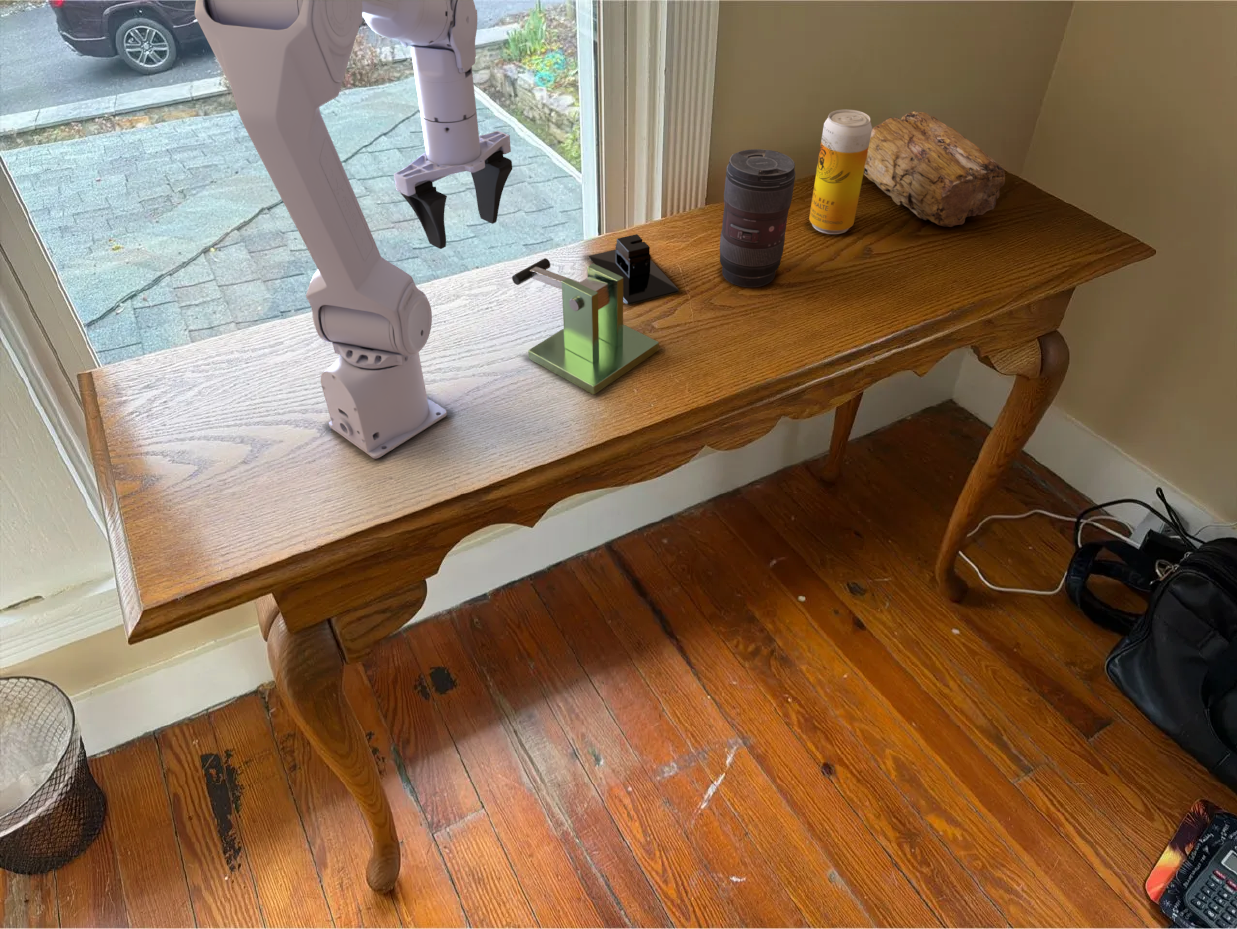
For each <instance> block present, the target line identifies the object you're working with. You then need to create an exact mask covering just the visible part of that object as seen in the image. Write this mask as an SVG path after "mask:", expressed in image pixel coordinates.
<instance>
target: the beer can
mask: <svg viewBox="0 0 1237 929" xmlns="http://www.w3.org/2000/svg"><path fill="white" fill-rule="evenodd" d="M872 129H873V126H872V122H871V116H870V115H868V114H867V113H865V112H863V111H861V110H856V109H846V108H845V109H836V110H833V111H831V112H830V113H829V114H828V116H827V118H826V119H825V121H824V122H823V126H822V134H821V140H820V146H819V147H820V148H819V153H818V158H817V166H816V172H815V179H814V185H813V189H812V190H813V191H812V197H811V204H810V211H809V217H808V220H809V222H810V223H811V225H812V227H813V229H814V230H816V231H818V232H820V233H822V234H826V235H840V234H844V233H846V232H848V231H849V229H850V228H852V227H853V226H854V223H855V220H856V214H857V209H858V204H859V199H860V194H861V188H862V184H863V177H864V168H865V163H866V158H867V153H868V148H869V143H870V137H871V132H872Z"/></svg>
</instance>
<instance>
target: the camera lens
mask: <svg viewBox="0 0 1237 929" xmlns="http://www.w3.org/2000/svg"><path fill="white" fill-rule="evenodd" d="M795 168H796V163H795V161H794V160H793V158H791V157H790V156H789V155H787V154H785V153H782V152H780V151H776V150H772V149H764V148H762V149H761V148H754V149H744V150H740V151H738V152H735V153H733V154H732V155H731V156H730V157H729V162H728V164H727V166H726V168H725V169H726V170H725V180H724V181H725V182H724V191H723V206H724V207H723V214H722V215H723V216H722V226H721V231H720V240H719V262H720V266H721V267H722V270H721V273H722V276H723V278H724V279H725V280H726V281H728V283H730V284H732V285H735V286H737V287H741V288H742V287H743V288H759V287H763V286H767V285H768V284H770V283H771V282H772V281H773V280H774V279H775V276H776V271H778V269H779V268H780V266H781V262H782V258H783V257H782V256H783V254H784V250H785V249H784V248H785V240H786V231H787V224H788V217H789V209H790V208H791V204H792V200H793V193H794V188H795V179H796V170H795Z"/></svg>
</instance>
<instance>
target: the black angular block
mask: <svg viewBox="0 0 1237 929" xmlns="http://www.w3.org/2000/svg"><path fill="white" fill-rule="evenodd" d="M650 248H651V247H650V245H648V244H647V242H645V241H643V238H642V237H641V236H640V235H639V234H637V233H636V234H632V235H627V236H621V237H619V238H616V244H615V249H612V250H609V251H604V252H600V253H595V254H591V255H589V256H588V260H589V261H590V263H592V264H595V265H598V266H600V267H602V268H604V269H606V270H608V271H611V272H613V273H615V274H617V275H619V276H621V277H623V304H625V305H628V306H633V305H635V304H640V303H644V302H647V301H648V302H649V301H650V300H652V301H653V300H656V299H658V298H659V299H660V298H663V297H667V296H671V295H675V294H679V293H680V290H679V288H678V287H677V286H676V285H675V284H674V282H673V281H672V280H671V279H670V278H669V277H668V276H667V275H666V274H665V273H664V272H663V271H662V270H661V269H660V268H659V266H658V265H656V263H654V262H653V261H652V260H651V253H650V251H651V250H650Z"/></svg>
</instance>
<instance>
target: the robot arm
mask: <svg viewBox="0 0 1237 929" xmlns="http://www.w3.org/2000/svg"><path fill="white" fill-rule="evenodd" d="M194 17H195V19H196V21H197V23H198V25H199V27H200V29H201V30H202V33H203V35H204V36H205V39H206V40H207V43H208V44H209V46H210V48H211V51H212V53H213V54H214V57H215V58H216V61H217V63H218V64H219V66H220V68H221V70H222V72H223V74H224V76H225V78H226V80H227V82H228V84H230V88H231V92H232V95H233V96H232V97H233V100H234V102H235V106H236V109H237V112H238V116H239V118H240V120H241V122H242V125H243V127H244V129H245V131H246V133H247V134H248V136H249V139H250V141H251V142H252V145H253V146H254V149H255V150H256V152H257V154H258V156H259V158H260V160H261V162H262V164H263V166H264V168H265V169H266V171H267V174H268V175H269V177H270V179H271V182H272V183H273V185H274V187H275V189H276V190H277V193H278V195H279V196H280V199H281V200H282V202H283V204H284V207H285V209H286V210H287V212H288V214H289V216H290V218H291V220H292V222H293V223H294V226H295V228H296V229H297V232H298V233H299V235H300V237H301V239H302V241H303V243H304V245H305V247H306V249H307V251H308V253H309V254H310V256H311V259H312V260H313V262H314V265H315V266H316V271H315V273H314V274H313V275H312V278H311V280H310V282H309V283H308V284H309V285H308V288H307V290H306V294H305V297H306V300H307V302H308V303H309V305H310V309H311V313H312V314H311V316H312V322H313V325H314V328H315V331H316V334H317V335H318V336H319V338H320V339H321V340H322V341H324V342H327V343H332V348H333V351H334V352H333V353H334V354H335V355H339V356H338V357H337V358H336V360H335V361H334V362H333V363H332V364H331V365H330V366H329V367H328V368H326V369H325V370H324V371H323V372H322V373H321V375H320V385H321V389H322V392H323V396H324V400H325V403H326V407H327V410H328V414H329V417H330V420H329V421H328V427H329V428H330V429H332V430H333V431H335V432H336V433H337V434H339V435H340V436H341V437H343V438H345V439H346V440H347V441H349V443H351V444H353V445H354V446H355V447H357V448H358V449H359V450H361V451H362V452H364V453H365V454H367V455H368V456H370V457H371V458H372V459H380V458H381V457H382V456H384V455H386V454H388V453H389V452H390V451H392V450H394V449H396V448H397V447H399V446H400V445H402V444H404V443H406V442H407V441H408V440H410V439H411V438H413V437H415V436H416V435H418V434H420V433H421V432H423V431H424V430H426V429H427V428H429V427H431V426H432V425H434V424H435V423H437V422H439V421H440V420H442V419H444V418H445V417H447V416H448V411H447V409H446V408H444V407H442V405H439V404H438V403H436V402H435V401H433V400H431V399H430V398H429V397H428V395H427V389H426V384H425V379H424V373H423V368H422V362H421V357H420V352H421V351H422V349H423V348H424V347H425V345H426V344H427V342H428V340H429V338H430V334H431V330H432V323H433V313H432V311H433V310H432V307H431V306H432V305H431V303H430V302H429V299H428V297H427V295H426V294H425V293H424V292H423V291H422V290H420V289H419V288H418V287H417V284H416V283H415V281H414V278H413V276H412V275H410V274H409V273H408V272H406V271H404V270H403V269H401V268H400V267H399V266H397V265H395V264H393V263H392V262H390V261H388V260H387V259H385V258H384V257H383V256H382V255H381V253H380V251H379V248H378V246H377V244H376V241H375V239H374V236H373V234H372V231H371V229H370V226H369V224H368V222H367V220H366V218H365V215H364V212H363V210H362V207H361V205H360V203H359V200H358V199H357V196H356V193H355V191H354V189H353V187H352V183H350V179H349V178H348V177H349V176H348V174H347V172H346V170H345V168H344V166H343V163H342V160H341V158H340V156H339V154H338V150H337V149H336V146H335V144H334V141H333V139H332V137H331V135H330V132H329V130H328V127H327V125H326V123H325V121H324V118H323V116H322V114H321V109H320V107H322V106H324V105H326V104H327V103H329V102H331V101H333V100H334V99H336V98H337V97H339V95H340V92H341V88H342V84H343V82H344V78H345V75H346V72H347V68H348V65H349V62H350V58H351V55H352V51H353V48H354V45H355V43H356V42H355V41H356V40H357V37H358V33H359V29H360V26H361V25H362V24H363V19H364V21H365V23H366V25H367V26H368V27H369V28H370V29H371V31H373V32H374V33H375V34H376V35H378V36H381V37H382V38H385V39H386V38H387V39H390V40H394V41H399V43H400V44H401V45H402V46H403V47H404V48H408V47H411V48H410V54H411V60H412V66H413V73H414V80H415V88H416V93H417V100H418V101H417V102H418V108H419V113H420V114H419V115H420V122H421V128H422V134H423V143H424V149H425V152H423V153H422V154H420V155H419V156H418V157H416V158H415V159H414V160H413V161H412V162H410V163H409V164H408V165H406V166H405V167H403V168H402V169H400V170H398V171H396V172H394V173H393V178H394V184H395V189H396V192H398V193H400V195H401V196H402V197H403V199H405V201H406V202H407V203H408V204H409V206H410V208H411V209H412V211H413V212H414V214H415V216H416V217H417V218H418V221H419V223H420V225H421V226H422V228H423V231H424V234H425V236H426V238H427V240H428V243H429V244H430V245H432V246H433V247H435V248H438V249H439V250H442V249H444V248H446V247H447V235H446V226H445V208H446V202H447V198H448V196H447V195H446V194H444V193H442V192H440V191H438V190H437V187H436V186H434V184H433V183H435V182H437V181H439V180H441V179H443V178H446V177H448V176H450V175H454V174H459V173H464V172H469V173H470V174H471V175H470V176H471V178H472V182H473V185H474V189H475V196H476V204H477V211H478V214H479V217H480V219H481V220H483V221H485V222H487V223H490V224H492V225H493V224H496V223H497V220H498V215H499V208H500V205H501V204H500V203H501V199H502V196H503V191H504V188H505V185H506V182H507V181H508V179H509V177H510V175H511V172H512V171H513V161H512V160H511V159H510V158H508V157H506V156H504V155H507V154H509V153H511V152H512V148H511V137H510V135H509V134H507V133H505V132H502V131H500V130H494V131H493V132H489V133H486V134H485V133H484V134H482V135H480V133H479V132H480V131H479V123H478V113H477V112H478V111H477V103H476V95H475V94H476V93H475V84H474V74H473V66H474V65H475V64H476V57H477V50H476V37H477V33H478V32H477V31H478V9H477V8H476V4H475V1H474V0H195V6H194Z"/></svg>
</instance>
